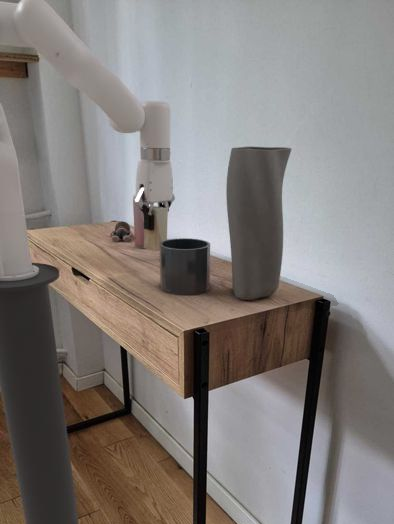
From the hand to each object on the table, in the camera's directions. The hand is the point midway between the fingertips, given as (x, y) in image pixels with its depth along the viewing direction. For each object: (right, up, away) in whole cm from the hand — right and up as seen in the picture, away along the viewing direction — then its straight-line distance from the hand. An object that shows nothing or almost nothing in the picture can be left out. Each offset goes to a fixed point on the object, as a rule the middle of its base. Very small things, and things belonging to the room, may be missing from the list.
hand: (155, 227), depth 130 cm
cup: (+8, -19, -19) cm, 28 cm away
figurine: (-13, +3, +26) cm, 29 cm away
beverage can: (-5, -2, +17) cm, 18 cm away
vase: (+23, -21, -24) cm, 40 cm away
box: (0, -5, +2) cm, 6 cm away
